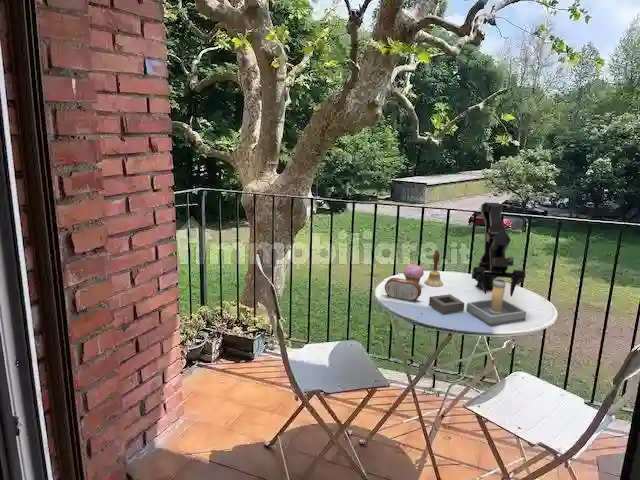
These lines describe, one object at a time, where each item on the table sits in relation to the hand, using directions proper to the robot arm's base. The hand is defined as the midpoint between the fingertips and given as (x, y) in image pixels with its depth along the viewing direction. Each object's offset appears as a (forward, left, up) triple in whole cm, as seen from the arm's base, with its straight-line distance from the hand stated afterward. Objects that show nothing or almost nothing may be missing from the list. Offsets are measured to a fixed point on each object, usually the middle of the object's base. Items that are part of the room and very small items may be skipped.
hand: (498, 294), depth 175 cm
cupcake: (+13, -39, -9) cm, 42 cm away
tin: (+25, -27, -9) cm, 38 cm away
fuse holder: (+13, -13, -9) cm, 21 cm away
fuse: (-1, -1, -8) cm, 8 cm away
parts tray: (-1, -1, -9) cm, 9 cm away
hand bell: (+2, -39, -9) cm, 40 cm away
